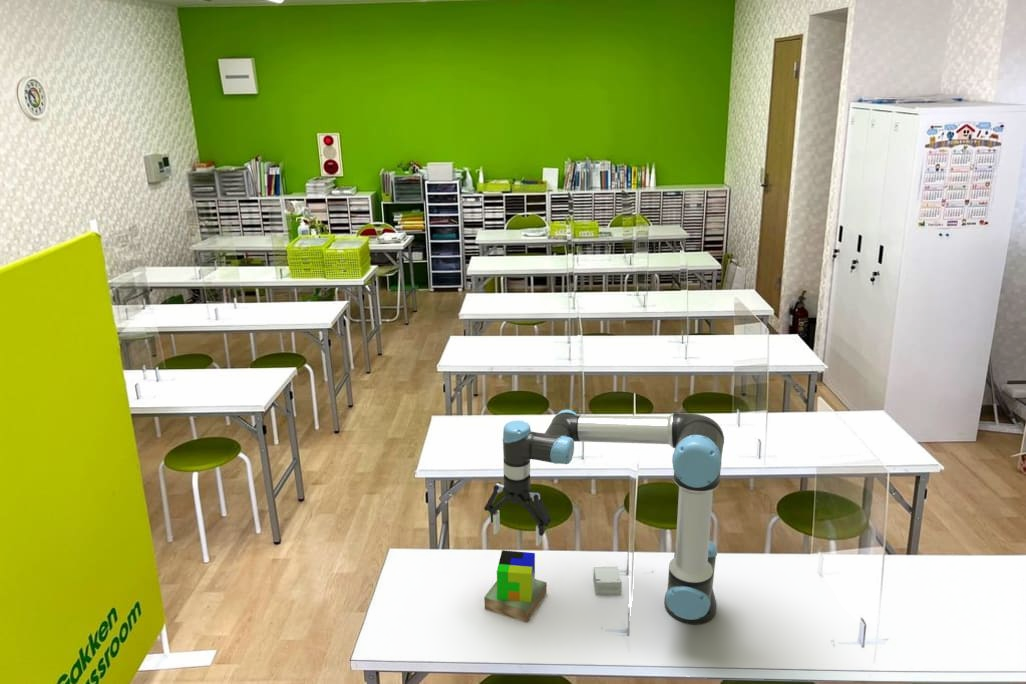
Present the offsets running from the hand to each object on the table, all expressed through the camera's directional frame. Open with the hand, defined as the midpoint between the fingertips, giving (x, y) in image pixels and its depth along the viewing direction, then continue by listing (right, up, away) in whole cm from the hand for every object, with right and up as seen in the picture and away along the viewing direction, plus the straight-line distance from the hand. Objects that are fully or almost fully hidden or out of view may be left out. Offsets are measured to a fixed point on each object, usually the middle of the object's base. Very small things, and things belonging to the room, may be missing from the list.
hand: (517, 537), depth 223 cm
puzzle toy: (0, -17, +7) cm, 19 cm away
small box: (+28, -19, +14) cm, 37 cm away
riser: (0, -21, +8) cm, 23 cm away
